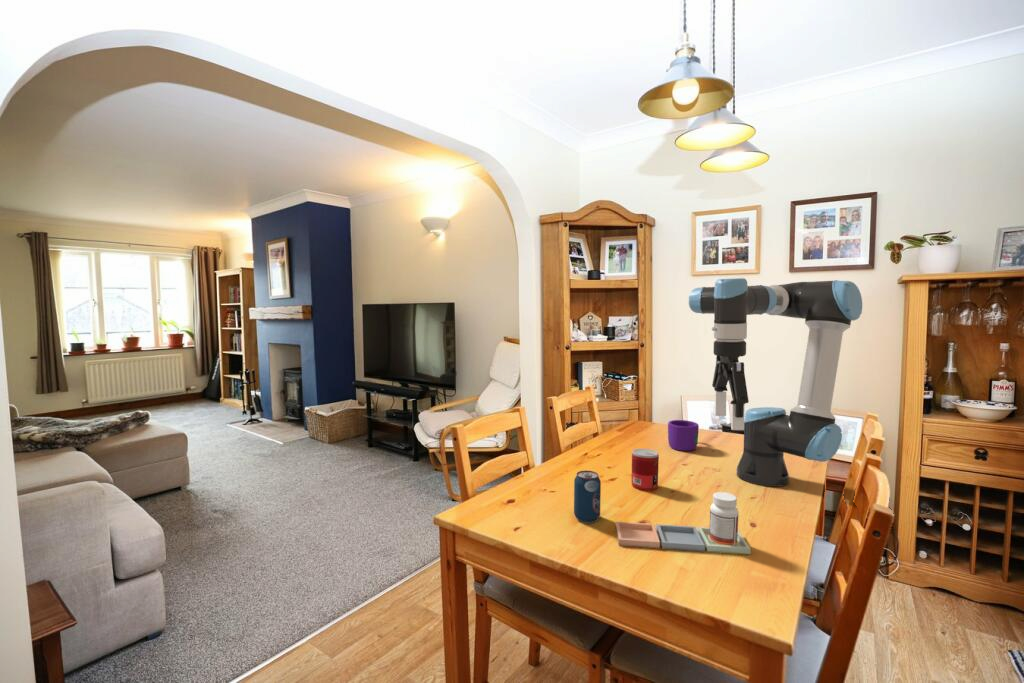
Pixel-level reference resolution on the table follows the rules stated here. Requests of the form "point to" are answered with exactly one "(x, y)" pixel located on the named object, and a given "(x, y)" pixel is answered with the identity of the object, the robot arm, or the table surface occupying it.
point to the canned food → (645, 469)
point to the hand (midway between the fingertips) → (728, 422)
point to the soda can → (587, 496)
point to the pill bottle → (724, 519)
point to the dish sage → (711, 547)
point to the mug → (683, 435)
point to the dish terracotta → (637, 535)
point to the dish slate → (680, 537)
